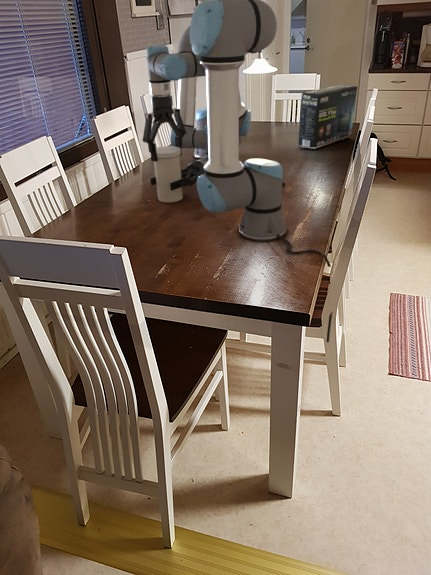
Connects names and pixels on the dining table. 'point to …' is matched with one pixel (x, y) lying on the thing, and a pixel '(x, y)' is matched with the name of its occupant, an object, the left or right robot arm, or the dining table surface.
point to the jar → (168, 178)
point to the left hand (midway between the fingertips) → (161, 184)
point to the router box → (326, 115)
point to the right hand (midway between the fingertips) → (166, 157)
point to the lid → (168, 151)
